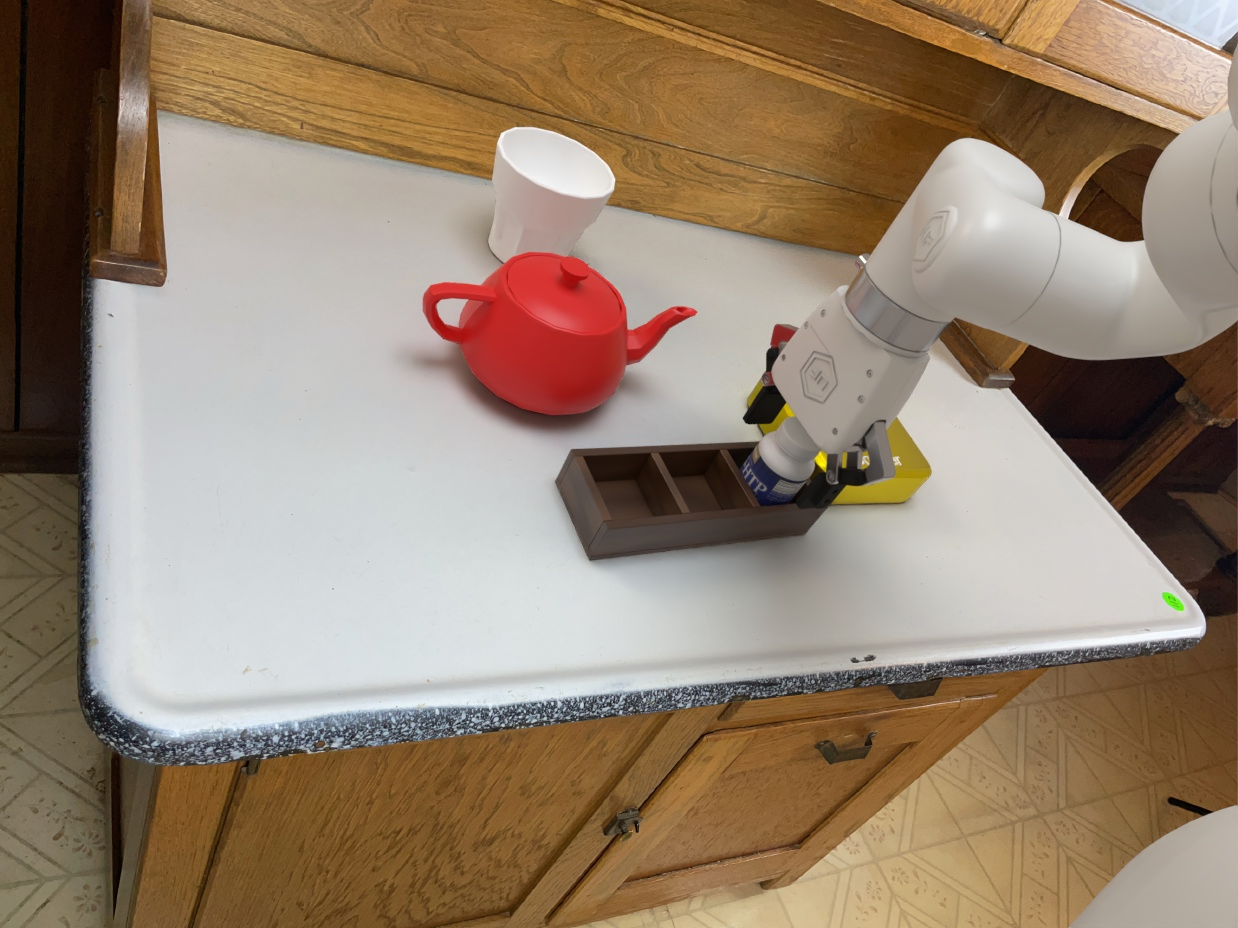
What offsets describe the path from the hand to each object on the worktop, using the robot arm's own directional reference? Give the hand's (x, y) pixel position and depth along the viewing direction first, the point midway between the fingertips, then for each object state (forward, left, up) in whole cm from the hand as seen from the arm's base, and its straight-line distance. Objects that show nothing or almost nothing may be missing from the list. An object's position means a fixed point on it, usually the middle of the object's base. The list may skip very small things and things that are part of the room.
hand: (782, 462), depth 74 cm
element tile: (+6, -14, -6) cm, 16 cm away
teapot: (+17, +15, -6) cm, 24 cm away
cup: (+36, +10, -6) cm, 38 cm away
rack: (0, +7, -6) cm, 9 cm away
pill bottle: (0, 0, -5) cm, 5 cm away
